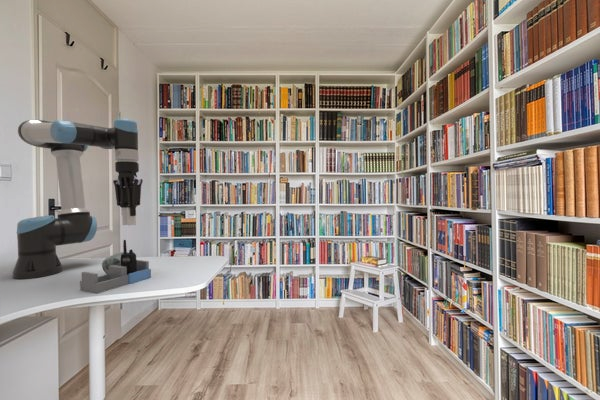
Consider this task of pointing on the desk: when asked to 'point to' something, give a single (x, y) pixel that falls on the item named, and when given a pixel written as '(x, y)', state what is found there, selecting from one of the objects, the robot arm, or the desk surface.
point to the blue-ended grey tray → (114, 277)
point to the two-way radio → (129, 260)
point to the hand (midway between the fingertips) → (129, 224)
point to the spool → (112, 261)
